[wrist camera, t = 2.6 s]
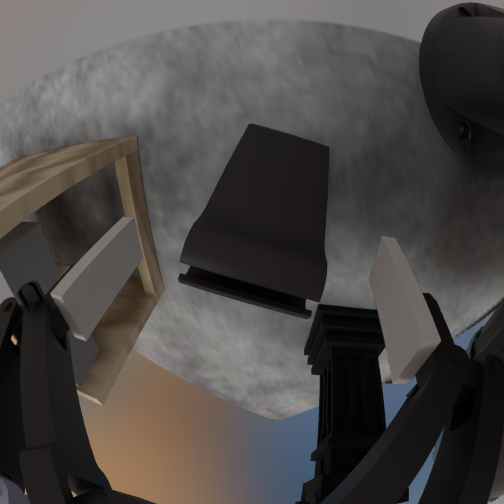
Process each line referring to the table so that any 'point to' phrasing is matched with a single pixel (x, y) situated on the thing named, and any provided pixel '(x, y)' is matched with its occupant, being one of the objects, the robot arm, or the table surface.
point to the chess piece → (345, 394)
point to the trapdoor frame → (124, 304)
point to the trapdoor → (46, 274)
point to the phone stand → (264, 225)
